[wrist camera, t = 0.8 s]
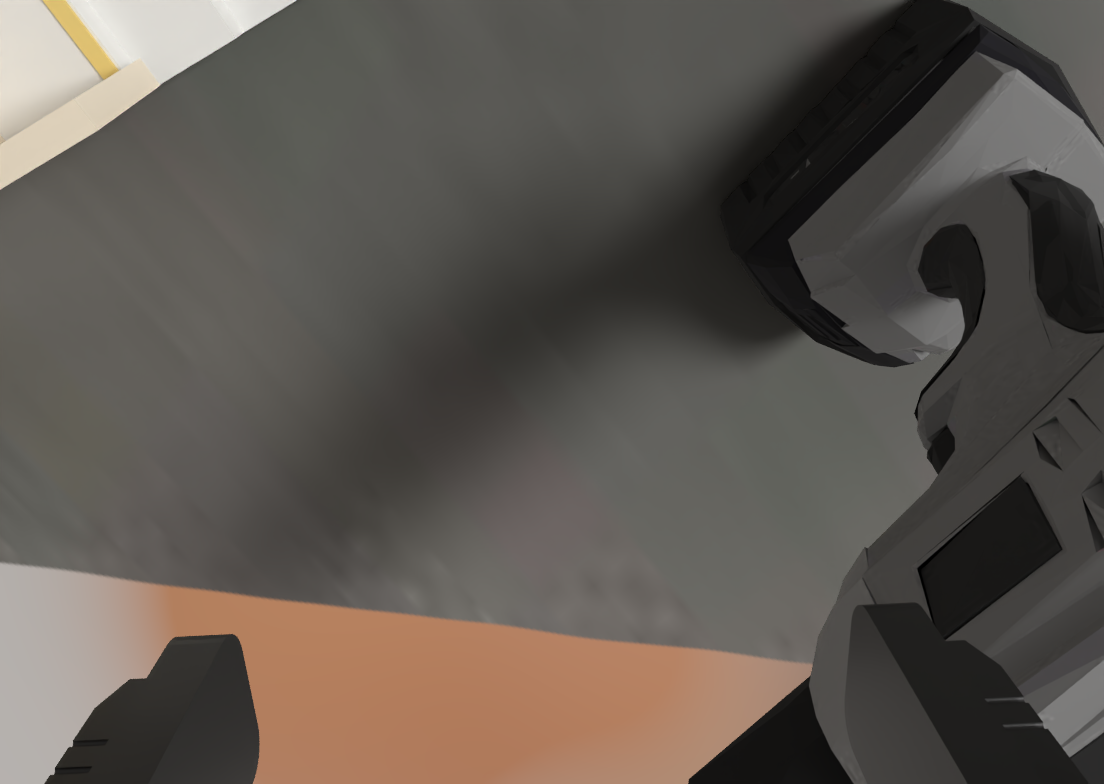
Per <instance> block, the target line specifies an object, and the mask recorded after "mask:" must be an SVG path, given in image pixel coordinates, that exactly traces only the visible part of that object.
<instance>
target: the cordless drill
mask: <svg viewBox="0 0 1104 784" xmlns="http://www.w3.org/2000/svg"><path fill="white" fill-rule="evenodd" d="M720 217H721V220H722V223H723V226H724V229H725V232H726V235H727V238H728V241H729V244H730V247H731V250H732V251H733V253H734V254H735V255H736V257H737V258H738V260H739V261H740V263H741V264H742V266H743V267H744V268H745V270H746V271H747V273H748V274H749V276H750V277H751V278H752V280H753V281H754V283H755V284H756V286H757V287H758V289H759V290H760V291H761V293H762V294H763V296H764V297H765V299H766V300H767V302H768V303H769V304H771V305H772V306H773V307H774V308H775V309H777V310H778V311H779V312H780V313H782V314H783V315H784V316H785V317H786V318H788V319H789V320H790V321H791V322H792V323H794V324H795V325H796V326H797V327H799V328H800V329H801V330H802V331H803V332H805V333H806V334H807V335H808V336H810V337H811V338H812V339H813V340H814V341H816V342H817V343H820V344H822V345H825V346H827V347H830V348H832V349H835V350H837V351H840V352H842V353H844V354H847V355H849V356H852V357H854V358H857V359H859V360H862V361H864V362H867V363H870V364H873V365H878V366H888V367H898V366H903V365H908V364H914V362H917V361H921V360H923V359H924V358H925V357H926V356H927V355H929V354H930V353H934V354H942V353H944V352H946V351H949V350H951V349H953V348H955V347H956V346H957V345H958V346H957V347H956V349H955V350H954V352H953V353H952V355H951V356H950V357H949V359H948V360H947V361H946V362H945V364H944V365H943V366H942V367H941V368H940V370H939V371H938V372H937V373H936V374H935V376H934V377H933V378H932V379H931V380H930V382H929V383H928V384H927V385H926V386H925V388H924V389H923V390H922V391H921V394H920V397H919V400H918V403H917V407H916V410H915V413H914V414H915V416H916V419H917V421H918V430H917V431H918V434H919V436H920V439H921V441H922V444H923V446H924V448H926V449H927V450H928V452H927V459H928V460H929V461H930V463H931V464H932V465H933V467H934V469H935V470H936V472H937V474H938V476H937V477H936V479H935V480H934V482H933V483H932V485H931V486H930V488H929V489H928V490H927V491H926V492H925V493H924V494H923V495H922V496H921V497H920V498H919V499H918V500H917V501H916V502H915V503H914V504H913V505H912V506H911V507H910V508H909V509H908V510H906V511H905V512H904V513H903V514H902V515H901V516H900V517H899V518H898V519H897V520H896V521H895V522H894V523H893V524H892V525H891V526H890V527H889V528H888V529H887V530H886V531H885V532H884V533H883V534H882V535H881V536H880V537H879V538H878V539H877V540H876V541H875V542H874V543H873V544H872V545H871V546H870V547H869V548H868V549H867V548H866V547H864V549H863V550H862V552H861V554H860V555H859V557H858V558H857V560H856V561H855V563H854V564H853V566H852V567H851V569H850V571H849V572H848V574H847V575H846V577H845V578H844V580H843V583H842V586H841V589H840V592H839V595H838V598H837V601H836V604H835V605H834V606H833V608H832V610H831V612H830V614H829V616H828V618H827V620H826V622H825V624H824V626H823V628H822V630H821V632H820V634H819V636H818V641H817V646H816V651H815V656H814V662H813V667H812V672H811V676H810V677H809V678H807V679H806V680H805V681H804V682H803V683H801V684H800V685H799V686H798V687H797V688H796V689H794V690H793V691H792V692H791V693H790V694H788V695H787V696H786V697H785V698H784V699H782V700H781V701H780V702H779V703H778V704H777V705H776V706H774V707H773V708H772V709H771V710H770V711H768V712H767V713H766V714H765V715H764V716H763V717H762V718H760V719H759V720H758V721H757V722H755V723H754V724H753V725H752V726H751V727H750V728H748V729H747V730H746V731H745V732H744V733H743V734H742V735H741V736H739V737H738V738H737V739H736V740H734V741H733V742H732V743H731V744H730V745H729V746H728V747H726V748H725V749H724V750H723V751H722V752H720V753H719V754H718V755H717V756H716V757H715V758H713V759H712V760H711V761H710V762H709V763H708V764H706V765H705V766H704V767H703V768H702V769H700V770H699V771H698V772H697V773H696V774H695V775H693V776H692V777H691V778H690V779H689V783H688V784H867V782H866V780H865V778H864V775H863V773H862V771H861V769H860V766H859V764H858V762H857V760H856V758H855V755H854V753H853V750H852V747H851V744H850V741H849V737H848V732H847V727H846V720H845V705H844V703H845V689H846V677H847V666H848V654H849V642H850V631H851V620H852V614H853V611H854V609H855V607H856V606H857V605H869V604H889V603H909V602H916V603H918V604H919V605H920V606H921V607H922V608H923V609H924V611H925V612H926V614H927V615H928V616H929V618H930V619H931V621H932V622H933V624H934V625H935V627H936V628H937V630H938V631H939V633H940V634H941V635H942V637H943V638H944V640H945V641H955V640H965V641H967V642H968V643H970V644H971V645H973V646H974V647H975V648H977V649H978V650H980V651H981V652H982V653H984V654H985V655H987V656H988V657H989V658H991V659H992V660H994V661H995V662H997V663H998V664H999V665H1001V666H1002V668H1003V669H1004V670H1005V672H1006V673H1007V674H1008V676H1009V677H1010V678H1011V680H1012V681H1013V682H1014V684H1015V685H1016V686H1017V688H1018V689H1019V691H1020V692H1021V693H1022V695H1023V696H1024V701H1025V703H1029V704H1030V705H1031V707H1032V708H1033V709H1034V711H1035V712H1036V713H1037V715H1038V716H1039V717H1040V719H1041V720H1042V721H1043V726H1044V729H1049V731H1050V732H1051V733H1052V735H1053V736H1054V737H1055V739H1056V740H1057V741H1058V743H1059V744H1060V745H1061V747H1062V748H1063V749H1064V751H1065V752H1066V753H1067V755H1068V756H1069V757H1070V759H1071V760H1072V761H1073V763H1074V764H1075V765H1076V767H1077V768H1078V769H1079V771H1080V772H1081V773H1082V775H1083V776H1084V777H1085V779H1086V780H1087V781H1088V783H1089V784H1104V228H1103V226H1102V224H1101V223H1102V222H1104V144H1103V143H1102V141H1101V139H1100V137H1099V136H1098V134H1097V132H1096V130H1095V129H1094V127H1093V125H1092V123H1091V121H1090V120H1089V118H1088V116H1087V114H1086V113H1085V111H1084V109H1083V107H1082V106H1081V104H1080V102H1079V100H1078V99H1077V97H1076V95H1075V93H1074V91H1073V90H1072V88H1071V86H1070V84H1069V83H1068V81H1067V79H1066V77H1065V76H1064V74H1063V72H1062V70H1061V69H1060V67H1059V65H1058V64H1056V63H1054V62H1053V61H1051V60H1050V59H1048V58H1047V57H1045V56H1043V55H1042V54H1040V53H1039V52H1037V51H1036V50H1034V49H1032V48H1031V47H1029V46H1028V45H1026V44H1025V43H1023V42H1021V41H1020V40H1018V39H1017V38H1015V37H1014V36H1012V35H1010V34H1009V33H1007V32H1006V31H1004V30H1003V29H1001V28H999V27H998V26H996V25H995V24H993V23H992V22H990V21H988V20H987V19H985V18H984V17H982V16H980V15H979V14H977V13H976V12H974V11H973V10H971V9H969V8H968V7H965V6H963V5H960V4H958V3H955V2H953V1H950V0H917V1H916V2H915V3H914V4H913V5H912V6H911V7H910V8H909V9H908V10H907V11H906V12H905V13H904V14H903V15H902V16H901V17H900V18H899V19H898V20H897V21H896V24H895V26H894V28H893V29H892V30H890V31H888V32H886V33H884V34H883V35H882V37H881V38H880V39H879V40H878V41H877V42H876V43H875V44H874V45H873V46H872V47H871V48H870V50H869V52H868V54H867V56H866V57H865V58H863V59H861V60H859V61H858V62H857V63H856V64H855V66H854V67H853V68H852V69H851V70H850V71H849V72H848V74H847V75H846V76H845V77H844V78H843V79H842V80H841V81H840V82H839V83H838V84H837V85H836V86H835V87H834V88H833V90H832V91H831V92H830V93H829V94H828V95H827V96H826V98H825V99H824V100H823V101H822V102H821V103H820V104H819V105H818V106H817V107H815V108H814V109H813V110H812V111H810V112H809V113H808V114H807V116H806V117H805V118H804V119H803V121H802V122H801V123H800V124H799V126H798V127H797V128H796V129H795V130H794V131H793V132H792V133H790V134H789V135H788V136H787V137H786V138H785V139H784V140H783V141H782V142H781V144H780V145H779V146H778V147H777V148H776V149H775V151H774V152H773V153H772V154H771V155H770V156H769V157H767V158H766V159H765V160H764V161H763V162H762V163H761V164H760V165H759V166H758V167H757V168H756V169H755V170H754V171H753V172H752V173H751V174H750V175H749V178H748V181H747V182H745V183H743V184H741V185H739V186H738V188H737V189H736V190H735V191H734V192H733V193H732V194H731V195H730V196H729V197H728V198H727V200H726V201H725V202H724V203H723V204H722V205H721V215H720Z"/></svg>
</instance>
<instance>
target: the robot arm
mask: <svg viewBox="0 0 1104 784" xmlns="http://www.w3.org/2000/svg"><path fill="white" fill-rule="evenodd" d="M844 705H845V720H846V727H847V732H848V737H849V741H850V744H851V747H852V750H853V753H854V755H855V758H856V760H857V762H858V764H859V766H860V769H861V771H862V773H863V775H864V778H865V780H866V782H867V784H1089V783H1088V781H1087V780H1086V779H1085V777H1084V776H1083V775H1082V773H1081V772H1080V771H1079V769H1078V768H1077V767H1076V765H1075V764H1074V763H1073V761H1072V760H1071V759H1070V757H1069V756H1068V755H1067V753H1066V752H1065V751H1064V749H1063V748H1062V747H1061V745H1060V744H1059V743H1058V741H1057V740H1056V739H1055V737H1054V736H1053V735H1052V733H1051V732H1050V731H1049V729H1044V726H1043V721H1042V720H1041V719H1040V717H1039V716H1038V715H1037V713H1036V712H1035V711H1034V709H1033V708H1032V707H1031V705H1030V704H1029V703H1025V701H1024V696H1023V695H1022V693H1021V692H1020V691H1019V689H1018V688H1017V686H1016V685H1015V684H1014V682H1013V681H1012V680H1011V678H1010V677H1009V676H1008V674H1007V673H1006V672H1005V670H1004V669H1003V668H1002V666H1001V665H999V664H998V663H997V662H995V661H994V660H992V659H991V658H989V657H988V656H987V655H985V654H984V653H982V652H981V651H980V650H978V649H977V648H975V647H974V646H973V645H971V644H970V643H968V642H967V641H965V640H955V641H945V640H944V638H943V637H942V635H941V634H940V633H939V631H938V630H937V628H936V627H935V625H934V624H933V622H932V621H931V619H930V618H929V616H928V615H927V614H926V612H925V611H924V609H923V608H922V607H921V606H920V605H919V604H918V603H916V602H909V603H889V604H869V605H857V606H856V607H855V609H854V611H853V614H852V620H851V631H850V642H849V654H848V666H847V677H846V689H845V703H844ZM258 758H259V729H258V723H257V719H256V714H255V709H254V704H253V699H252V695H251V690H250V685H249V680H248V675H247V670H246V666H245V661H244V656H243V651H242V647H241V644H240V641H239V639H238V638H237V637H236V636H235V635H233V634H228V635H206V636H187V637H175V638H173V639H172V640H171V641H170V642H169V643H168V645H167V646H166V648H165V649H164V651H163V653H162V654H161V656H160V657H159V659H158V661H157V662H156V664H155V666H154V667H153V669H152V670H151V672H150V674H149V675H148V677H147V678H145V679H130V680H128V681H127V682H126V683H125V684H124V685H122V686H121V687H120V688H119V689H118V690H116V691H115V692H114V693H113V694H112V695H110V696H109V697H108V698H107V699H105V700H104V701H103V702H102V703H100V704H99V705H98V706H97V707H96V708H95V709H94V710H93V712H92V713H91V715H90V716H89V718H88V719H87V721H86V722H85V724H84V725H83V727H82V728H81V730H80V731H79V733H78V734H77V736H76V737H75V739H74V740H73V747H69V748H68V749H67V751H66V752H65V754H64V755H63V757H62V758H61V760H60V761H59V763H58V764H57V766H56V767H55V774H54V775H50V776H49V778H48V779H47V781H46V782H45V784H253V781H254V778H255V774H256V770H257V765H258Z"/></svg>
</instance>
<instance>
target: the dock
mask: <svg viewBox="0 0 1104 784" xmlns="http://www.w3.org/2000/svg"><path fill="white" fill-rule="evenodd" d="M295 1H296V0H0V189H2V188H4V187H5V186H7V185H8V184H10V183H12V182H13V181H15V180H17V179H18V178H20V177H22V176H23V175H25V174H27V173H28V172H30V171H32V170H33V169H35V168H37V167H38V166H40V165H42V164H43V163H45V162H46V161H48V160H50V159H51V158H53V157H55V156H56V155H58V154H60V153H61V152H63V151H65V150H66V149H68V148H70V147H71V146H73V145H75V144H76V143H78V142H80V141H81V140H83V139H85V138H86V137H88V136H89V135H91V134H93V133H94V132H96V131H98V130H99V129H101V128H102V127H103V126H105V125H106V124H108V123H109V122H110V121H112V120H113V119H115V118H116V117H117V116H119V115H120V114H121V113H123V112H124V111H126V110H127V109H128V108H130V107H131V106H133V105H134V104H135V103H137V102H138V101H140V100H141V99H142V98H144V97H145V96H146V95H148V94H149V93H151V92H152V91H153V90H155V89H156V88H158V87H159V86H160V84H162V83H163V82H165V81H167V80H168V79H170V78H172V77H173V76H175V75H176V74H178V73H180V72H181V71H183V70H185V69H186V68H188V67H190V66H191V65H193V64H195V63H196V62H198V61H200V60H201V59H203V58H204V57H206V56H208V55H209V54H211V53H213V52H214V51H216V50H218V49H219V48H221V47H223V46H224V45H226V44H227V43H229V42H231V41H232V40H234V39H236V38H237V37H238V36H240V35H241V34H242V33H244V32H245V31H247V30H249V29H250V28H252V27H254V26H255V25H257V24H259V23H260V22H262V21H263V20H265V19H267V18H268V17H270V16H272V15H273V14H275V13H277V12H278V11H280V10H282V9H283V8H285V7H286V6H288V5H290V4H291V3H293V2H295Z"/></svg>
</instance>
